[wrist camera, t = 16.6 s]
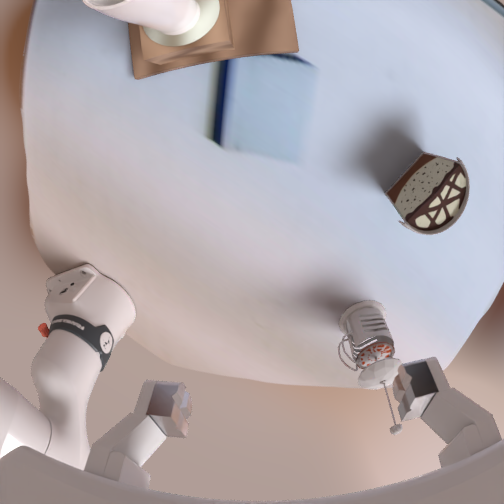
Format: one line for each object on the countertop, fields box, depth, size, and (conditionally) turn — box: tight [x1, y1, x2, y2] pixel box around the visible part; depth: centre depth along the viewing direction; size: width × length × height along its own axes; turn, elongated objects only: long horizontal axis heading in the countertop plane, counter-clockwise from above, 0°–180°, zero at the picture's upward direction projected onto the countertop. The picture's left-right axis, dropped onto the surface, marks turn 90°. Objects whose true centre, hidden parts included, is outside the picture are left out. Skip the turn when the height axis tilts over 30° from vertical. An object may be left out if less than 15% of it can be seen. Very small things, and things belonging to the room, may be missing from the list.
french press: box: [338, 301, 403, 435], centre depth 42 cm, size 10×12×25 cm
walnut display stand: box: [128, 0, 299, 80], centre depth 25 cm, size 22×16×8 cm
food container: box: [385, 152, 470, 235], centre depth 35 cm, size 12×6×10 cm, turn 142°
